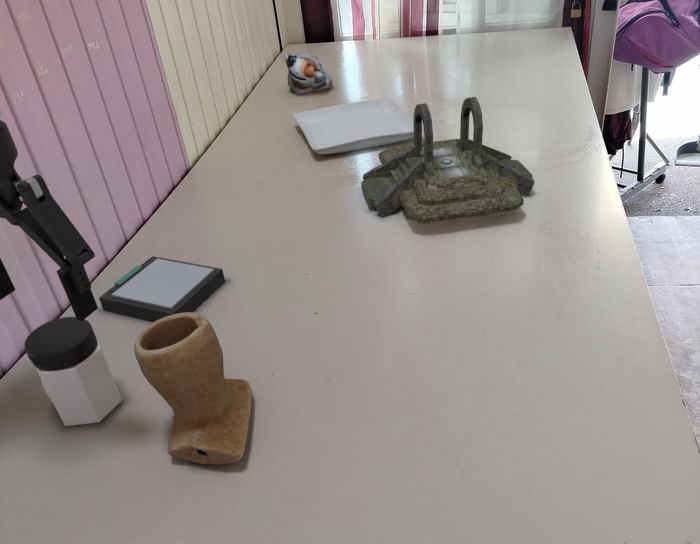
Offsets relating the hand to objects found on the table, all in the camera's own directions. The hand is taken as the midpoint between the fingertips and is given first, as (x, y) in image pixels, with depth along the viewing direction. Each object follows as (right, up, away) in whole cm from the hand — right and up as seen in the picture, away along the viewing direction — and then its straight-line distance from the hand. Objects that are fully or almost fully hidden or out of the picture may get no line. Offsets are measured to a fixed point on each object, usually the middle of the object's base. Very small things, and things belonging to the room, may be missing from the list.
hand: (45, 304), depth 76 cm
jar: (+1, -13, +10) cm, 17 cm away
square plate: (+38, +49, +84) cm, 105 cm away
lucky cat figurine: (+25, +73, +117) cm, 140 cm away
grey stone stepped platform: (+56, +27, +54) cm, 83 cm away
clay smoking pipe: (+18, -16, +5) cm, 25 cm away
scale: (+5, +4, +31) cm, 32 cm away
